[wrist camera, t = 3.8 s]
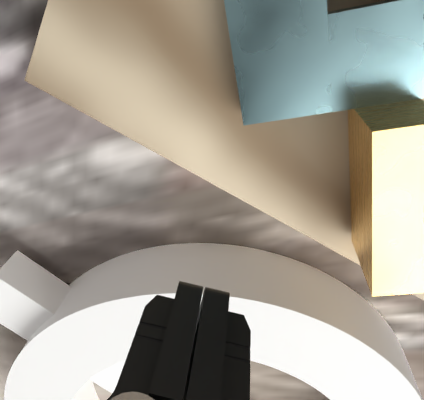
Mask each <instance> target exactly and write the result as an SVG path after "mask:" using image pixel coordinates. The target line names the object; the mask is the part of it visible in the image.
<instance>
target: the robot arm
mask: <svg viewBox="0 0 424 400" xmlns="http://www.w3.org/2000/svg"><path fill="white" fill-rule="evenodd" d="M202 292H203V286H199V285H195V284H190V283H186V282H182V281H179V284H178V287H177V291H176V295H175V298H174V299H173V298H169V297H165V296H161V295H156V296H155V297H154V298H153V299H152V300H151V301H150V302H149V303H148V304H147V305H146V306H145V308H144V310H143V313H142V316H141V319H140V322H139V324H138V327H137V330H136V333H135V336H134V338H133V341H132V344H131V347H130V350H129V352H128V355H127V358H126V361H125V363H124V366H123V369H122V372H121V375H120V377H119V380H118V383H117V386H116V388H115V390H114V392H113V393H112V395H111V396H110V397H109V398H108V399H107V400H250V346H251V330H250V328H249V325H248V323H247V321H246V319H245V316H244V315H242V314H238V313H234V312H229V311H228V310H229V298H230V293H229V292H225V291H221V290H216V289H212V288H208V287H205V289H204V293H203V297H202ZM201 298H202V300H201ZM200 303H201V304H200Z"/></svg>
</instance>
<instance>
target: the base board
mask: <svg viewBox="0 0 424 400" xmlns="http://www.w3.org/2000/svg"><path fill="white" fill-rule="evenodd" d="M380 1H385V0H327V12H329V11H334V10H339V9H344V8H350V7H355V6H360V5H365V4H370V3H375V2H380ZM25 81H27V82H28V83H30V84H32V85H34V86H36V87H38V88H39V89H41V90H43V91H45V92H47V93H48V94H50V95H52V96H54V97H56V98H57V99H59V100H61V101H63V102H65V103H67V104H68V105H70V106H72V107H74V108H76V109H77V110H79V111H81V112H83V113H85V114H86V115H88V116H90V117H92V118H94V119H96V120H97V121H99V122H101V123H103V124H105V125H106V126H108V127H110V128H112V129H114V130H116V131H117V132H119V133H121V134H123V135H125V136H126V137H128V138H130V139H132V140H134V141H135V142H137V143H139V144H141V145H143V146H145V147H146V148H148V149H150V150H152V151H154V152H155V153H157V154H159V155H161V156H163V157H164V158H166V159H168V160H170V161H172V162H174V163H175V164H177V165H179V166H181V167H183V168H184V169H186V170H188V171H190V172H192V173H193V174H195V175H197V176H199V177H201V178H203V179H204V180H206V181H208V182H210V183H212V184H213V185H215V186H217V187H219V188H221V189H223V190H224V191H226V192H228V193H230V194H232V195H233V196H235V197H237V198H239V199H241V200H242V201H244V202H246V203H248V204H250V205H252V206H253V207H255V208H257V209H259V210H261V211H262V212H264V213H266V214H268V215H270V216H271V217H273V218H275V219H277V220H279V221H281V222H282V223H284V224H286V225H288V226H290V227H291V228H293V229H295V230H297V231H299V232H301V233H302V234H304V235H306V236H308V237H310V238H311V239H313V240H315V241H317V242H319V243H320V244H322V245H324V246H326V247H328V248H330V249H331V250H333V251H335V252H337V253H339V254H340V255H342V256H344V257H346V258H348V259H349V260H351V261H353V262H355V263H357V264H359V265H360V262H359V259H358V257H357V254H356V251H355V249H354V246H353V243H352V241H351V207H350V173H349V139H348V110H343V111H336V112H329V113H323V114H316V115H310V116H303V117H296V118H290V119H283V120H277V121H270V122H264V123H257V124H250V125H244V126H243V119H242V113H241V106H240V100H239V94H238V87H237V81H236V74H235V68H234V62H233V55H232V49H231V42H230V36H229V30H228V23H227V17H226V10H225V4H224V0H48V3H47V6H46V9H45V13H44V16H43V19H42V23H41V26H40V30H39V33H38V36H37V40H36V43H35V47H34V50H33V53H32V57H31V60H30V63H29V67H28V70H27V74H26V77H25ZM421 100H423V101H424V98H421ZM360 266H361V265H360ZM413 295H415V296H417V297H418V298H420V299H422V300H424V293H415V294H413Z"/></svg>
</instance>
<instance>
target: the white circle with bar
mask: <svg viewBox="0 0 424 400" xmlns="http://www.w3.org/2000/svg"><path fill="white" fill-rule="evenodd" d="M179 281H182V282H186V283H190V284H195V285H199V286H203V292H202V297H203V293H204V289H205V287H208V288H212V289H216V290H221V291H225V292H229V293H230V298H229V310H228V311H229V312H234V313H238V314H242V315H244V316H245V319H246V321H247V323H248V325H249V328H250V330H251V346H250V361H254V362H257V363H261V364H264V365H267V366H270V367H273V368H275V369H278V370H280V371H283V372H285V373H288V374H290V375H292V376H294V377H296V378H298V379H300V380H302V381H304V382H305V383H307V384H309V385H310V386H312V387H314V388H315V389H317V390H318V391H319V392H321V393H322V394H324V395H325V396H326V397H327V398H329V399H330V400H423V398H422V396H421V393H420V391H419V388H418V386H417V383H416V381H415V378H414V376H413V374H412V371H411V369H410V366H409V364H408V361H407V359H406V356H405V354H404V351H403V349H402V346H401V344H400V342H399V340H398V338H397V337H396V335H395V333H394V332H393V330H392V329H391V327H390V326H389V325H388V323H387V322H386V321H385V319H384V318H383V317H382V316H381V315H380V314H379V312H378V311H377V310H376V309H375V308H374V307H373V306H372V305H371V304H370V303H368V302H367V301H366V300H365V299H364V298H363V297H361V296H360V295H359V294H358V293H356V292H355V291H354V290H352V289H351V288H349V287H348V286H347V285H345V284H344V283H342V282H340V281H339V280H337V279H335V278H334V277H332V276H330V275H328V274H326V273H324V272H322V271H320V270H319V269H316V268H314V267H312V266H309V265H307V264H305V263H302V262H300V261H297V260H294V259H292V258H289V257H286V256H282V255H279V254H276V253H272V252H268V251H264V250H259V249H255V248H249V247H243V246H236V245H228V244H215V243H183V244H171V245H162V246H156V247H151V248H146V249H142V250H137V251H133V252H130V253H127V254H124V255H121V256H118V257H115V258H113V259H110V260H108V261H106V262H104V263H102V264H100V265H98V266H95V267H94V268H92V269H90V270H89V271H87V272H85V273H84V274H82V275H81V276H80V277H78V278H77V279H75V280H74V281H73V282H72V283H71V284H70V285H67V284H66V283H65V282H63V281H62V280H60V279H59V278H57V277H56V276H54V275H53V274H51V273H50V272H49V271H47V270H46V269H44V268H43V267H41V266H40V265H38V264H37V263H35V262H34V261H33V260H31V259H30V258H28V257H27V256H25V255H24V254H22V253H21V252H19V251H18V250H17V251H16V252H15V253H14V254H13V255H12V256H11V257H10V259H9V260H8V261H7V262H6V263H5V264H4V265H3V266H2V267H1V268H0V324H2V325H3V326H5V327H6V328H8V329H10V330H11V331H13V332H14V333H16V334H18V335H19V336H21V337H22V338H24V339H26V340H27V343H26V344H25V346H24V347H23V349H22V350H21V352H20V354H19V355H18V357H17V358H16V360H15V361H14V363H13V365H12V367H11V369H10V371H9V374H8V377H7V380H6V385H5V392H4V400H99V398H98V396H97V394H96V391H95V388H94V385H93V382H94V383H96V384H98V385H99V386H101V387H102V388H104V389H106V390H107V391H109V392H110V393H113V392H114V390H115V388H116V386H117V383H118V380H119V377H120V375H121V372H122V369H123V366H124V363H125V361H126V358H127V355H128V352H129V350H130V347H131V344H132V341H133V338H134V336H135V333H136V330H137V327H138V324H139V322H140V319H141V316H142V313H143V310H144V308H145V306H146V305H147V304H148V303H149V302H150V301H151V300H152V299H153V298H154V297H155V296H156V295H161V296H165V297H169V298H173V299H174V298H175V295H176V291H177V287H178V284H179ZM201 300H202V298H201ZM200 304H201V303H200Z"/></svg>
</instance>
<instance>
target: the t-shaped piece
mask: <svg viewBox="0 0 424 400" xmlns="http://www.w3.org/2000/svg"><path fill="white" fill-rule="evenodd" d="M224 4H225V10H226V17H227V23H228V30H229V36H230V42H231V49H232V55H233V62H234V68H235V74H236V81H237V87H238V94H239V100H240V106H241V113H242V119H243V126H244V125H250V124H257V123H264V122H270V121H277V120H283V119H290V118H296V117H303V116H310V115H316V114H323V113H329V112H336V111H343V110H348V139H349V173H350V207H351V241H352V243H353V246H354V249H355V251H356V254H357V257H358V259H359V262H360V265H361V267H362V270H363V273H364V276H365V278H366V281H367V284H368V286H369V289H370V292H371V294H372V296H386V295H401V294H415V293H424V101H423V100H421V98H424V0H385V1H380V2H375V3H370V4H365V5H360V6H355V7H350V8H344V9H339V10H334V11H329V12H327V0H224Z"/></svg>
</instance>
